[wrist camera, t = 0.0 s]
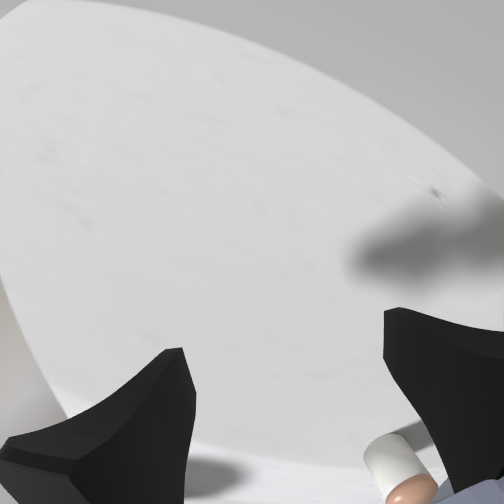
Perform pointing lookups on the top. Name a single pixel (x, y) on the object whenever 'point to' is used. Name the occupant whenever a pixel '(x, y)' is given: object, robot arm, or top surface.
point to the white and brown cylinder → (399, 471)
